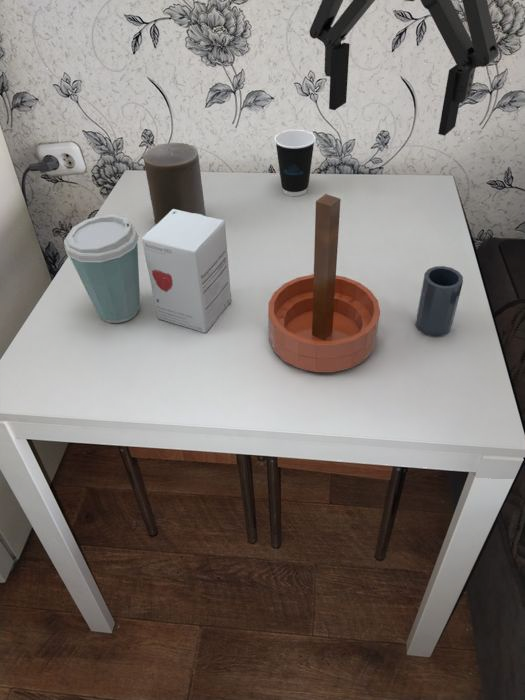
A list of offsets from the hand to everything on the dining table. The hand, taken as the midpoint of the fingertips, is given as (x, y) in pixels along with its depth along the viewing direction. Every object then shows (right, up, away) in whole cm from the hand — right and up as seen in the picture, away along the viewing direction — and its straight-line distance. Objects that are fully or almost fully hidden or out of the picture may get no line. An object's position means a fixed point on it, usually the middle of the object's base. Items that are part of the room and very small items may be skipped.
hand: (389, 117), depth 67 cm
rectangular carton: (-25, -20, +27) cm, 42 cm away
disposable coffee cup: (-37, -20, +27) cm, 50 cm away
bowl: (-6, -24, +21) cm, 33 cm away
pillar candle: (-30, -2, +46) cm, 55 cm away
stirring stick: (-6, -24, +20) cm, 32 cm away
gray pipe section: (+11, -23, +22) cm, 33 cm away
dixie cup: (-8, +6, +53) cm, 54 cm away
